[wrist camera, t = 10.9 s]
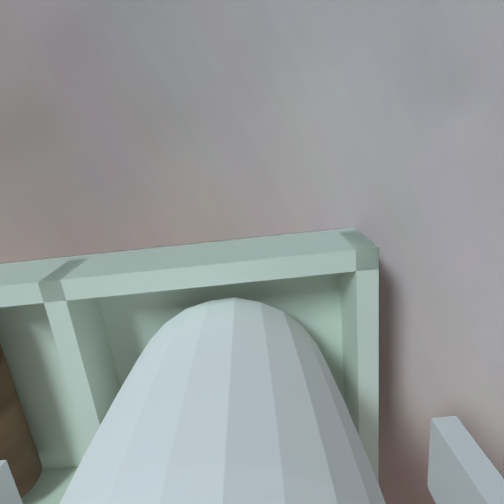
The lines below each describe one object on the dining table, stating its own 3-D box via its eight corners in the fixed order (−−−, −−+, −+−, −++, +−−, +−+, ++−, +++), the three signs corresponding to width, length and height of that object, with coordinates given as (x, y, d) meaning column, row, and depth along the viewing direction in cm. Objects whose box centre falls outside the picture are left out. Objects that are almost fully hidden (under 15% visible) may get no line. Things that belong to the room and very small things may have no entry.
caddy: (-182, 282, 16) (-275, 314, 13) (354, 227, 16) (378, 247, 13) (-84, 487, 19) (-141, 548, 17) (358, 444, 19) (378, 498, 16)
